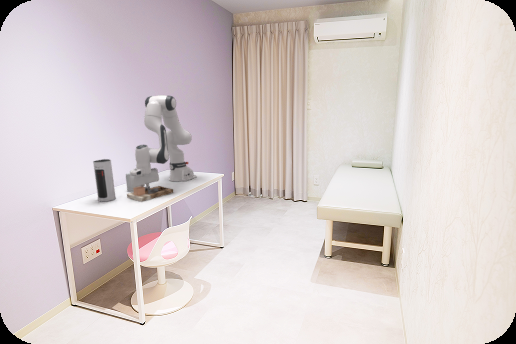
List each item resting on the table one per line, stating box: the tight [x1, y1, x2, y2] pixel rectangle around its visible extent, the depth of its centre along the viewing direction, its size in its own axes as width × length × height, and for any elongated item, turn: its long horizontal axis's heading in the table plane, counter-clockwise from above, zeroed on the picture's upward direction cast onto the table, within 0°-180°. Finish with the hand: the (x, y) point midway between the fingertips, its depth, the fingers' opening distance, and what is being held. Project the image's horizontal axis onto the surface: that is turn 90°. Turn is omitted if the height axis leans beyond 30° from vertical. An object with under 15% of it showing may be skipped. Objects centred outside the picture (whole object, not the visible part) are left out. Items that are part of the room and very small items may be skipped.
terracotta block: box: [133, 186, 146, 196], centre depth 211 cm, size 5×5×4 cm
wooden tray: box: [126, 185, 174, 203], centre depth 218 cm, size 25×16×5 cm, turn 142°
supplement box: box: [125, 172, 142, 193], centre depth 230 cm, size 7×7×13 cm
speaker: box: [92, 158, 116, 203], centre depth 207 cm, size 11×10×26 cm
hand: (145, 190), depth 215 cm, fingers closed
